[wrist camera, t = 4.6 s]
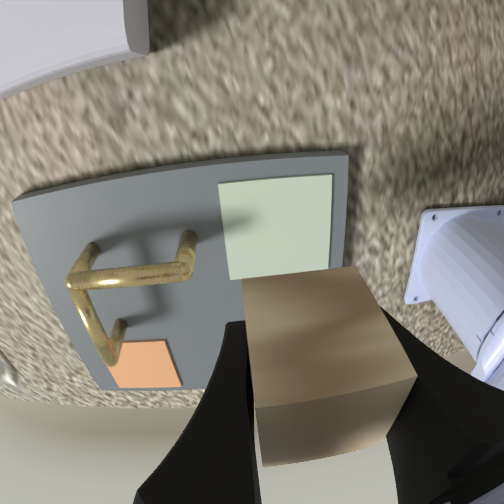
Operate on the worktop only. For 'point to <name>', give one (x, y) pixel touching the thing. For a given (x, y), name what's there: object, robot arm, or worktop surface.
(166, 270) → the brass corner pipe rail
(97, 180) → the board
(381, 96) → the worktop surface
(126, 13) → the charger
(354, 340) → the block
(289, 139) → the worktop surface
